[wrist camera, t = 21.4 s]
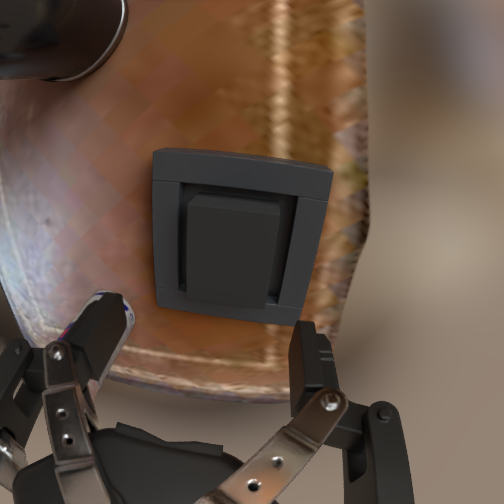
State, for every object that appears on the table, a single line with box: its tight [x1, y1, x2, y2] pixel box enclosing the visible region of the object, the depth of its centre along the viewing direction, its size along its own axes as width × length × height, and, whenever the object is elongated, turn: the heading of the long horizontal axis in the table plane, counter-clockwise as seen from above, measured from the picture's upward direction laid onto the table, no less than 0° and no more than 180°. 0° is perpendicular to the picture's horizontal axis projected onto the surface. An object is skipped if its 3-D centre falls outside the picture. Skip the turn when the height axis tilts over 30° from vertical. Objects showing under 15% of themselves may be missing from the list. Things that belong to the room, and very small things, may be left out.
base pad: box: [152, 148, 334, 326], centre depth 21 cm, size 13×12×2 cm
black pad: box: [186, 192, 280, 309], centre depth 20 cm, size 7×6×3 cm
